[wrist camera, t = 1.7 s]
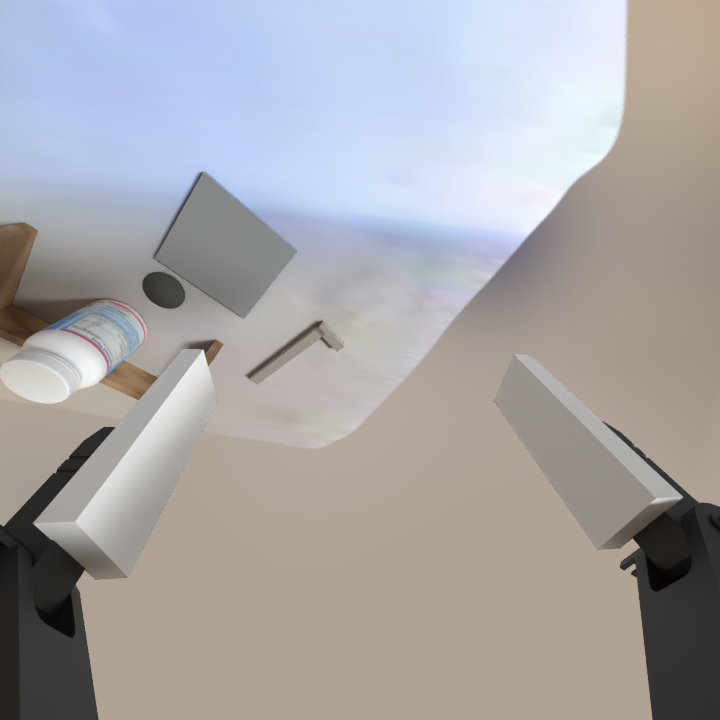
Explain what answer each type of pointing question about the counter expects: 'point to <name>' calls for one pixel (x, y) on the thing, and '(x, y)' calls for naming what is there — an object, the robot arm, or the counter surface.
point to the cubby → (3, 274)
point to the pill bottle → (74, 352)
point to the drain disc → (163, 290)
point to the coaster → (224, 248)
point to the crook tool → (298, 350)
